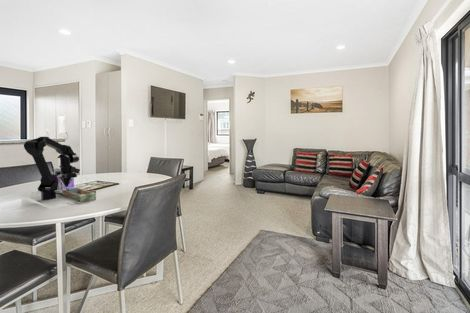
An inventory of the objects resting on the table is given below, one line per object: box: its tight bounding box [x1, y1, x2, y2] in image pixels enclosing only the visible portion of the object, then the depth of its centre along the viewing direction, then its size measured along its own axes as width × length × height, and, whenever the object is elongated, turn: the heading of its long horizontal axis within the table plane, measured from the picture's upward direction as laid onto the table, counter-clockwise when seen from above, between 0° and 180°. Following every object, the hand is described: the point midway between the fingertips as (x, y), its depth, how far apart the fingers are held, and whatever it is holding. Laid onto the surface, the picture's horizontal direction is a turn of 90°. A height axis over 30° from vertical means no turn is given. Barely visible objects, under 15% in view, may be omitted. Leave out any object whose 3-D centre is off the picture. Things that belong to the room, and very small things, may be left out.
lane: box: [61, 187, 97, 203], centre depth 167 cm, size 15×25×4 cm, turn 56°
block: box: [65, 186, 79, 194], centre depth 170 cm, size 5×5×4 cm
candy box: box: [52, 167, 75, 191], centre depth 189 cm, size 14×6×16 cm, turn 179°
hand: (66, 186), depth 174 cm, fingers closed
